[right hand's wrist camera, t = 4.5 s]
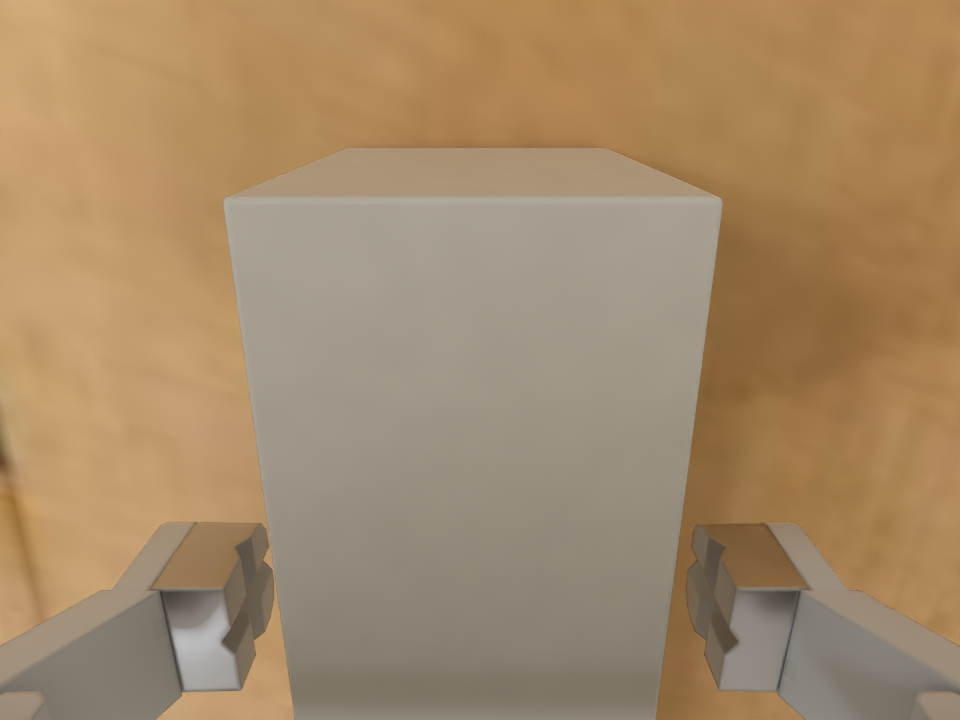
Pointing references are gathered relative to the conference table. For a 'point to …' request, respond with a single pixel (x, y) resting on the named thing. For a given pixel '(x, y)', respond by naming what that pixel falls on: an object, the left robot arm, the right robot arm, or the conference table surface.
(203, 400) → the conference table surface
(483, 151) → the post
